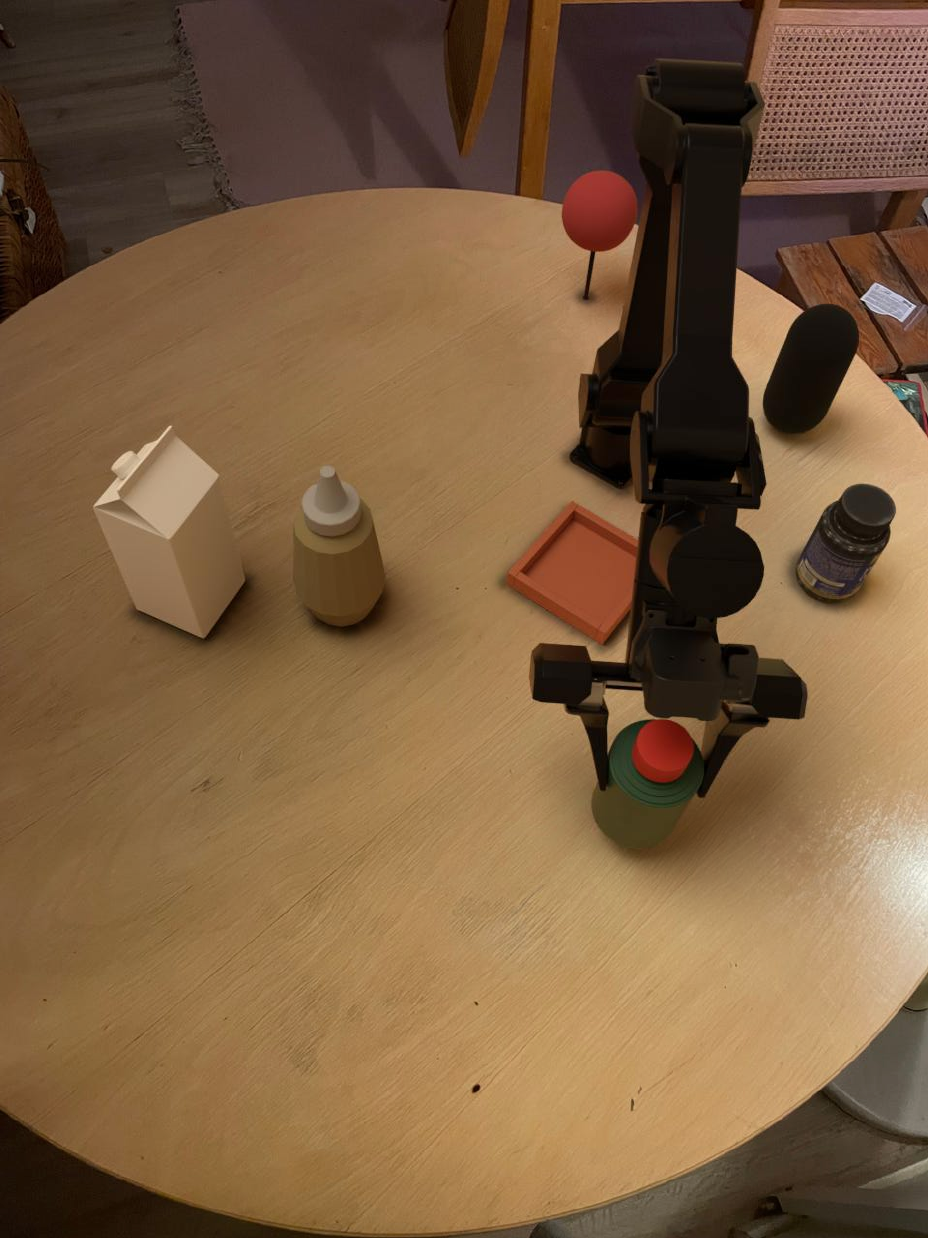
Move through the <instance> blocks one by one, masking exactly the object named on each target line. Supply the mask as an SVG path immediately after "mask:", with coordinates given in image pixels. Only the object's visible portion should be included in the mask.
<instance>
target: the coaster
mask: <svg viewBox="0 0 928 1238" xmlns="http://www.w3.org/2000/svg"><path fill="white" fill-rule="evenodd" d="M637 546H638V539H637V538H635V537H634V536H632V535H631V534H629V533H627V532H626V531H624V530H623V529H620V528H619V527H617V526H615V525H613V524H612V523H611V522H608V521H607V520H606V519H603V518H602V517H600V516H598V515H597V514H595V513H594V512H592V511H590V510H588V509H586V508H585V507H583V506H582V505H579V504H578V503H577V502H574V501H573V500H572V501H570V502H569V503H568V504H567V506H566V507H565V508H564V509H563V510H562V511H561V512H560V513H559V515H557V517H556V518H555V519H554V520H553V521H552V523H551V524H550V525H549V526H548V527H547V528H546V529H545V530H544V531H543V533H542V534H541V535H540V536H539V537H538V538H537V539H536V540H535V542H534V543H533V544H532V545H531V546H530V547H529V548H528V549H527V551H526V552H525V553H524V554H522V556H521V557H520V558H519V559H518V560H517V562H515V564H514V565H513V566H512V567H511V568H510V569H509V571H508V572H507V577H506V585H507V586H509V587H510V588H512V589H514V590H515V591H517V592H518V593H520V594H522V595H523V596H524V597H526V598H528V599H529V600H531V601H533V603H536V604H537V605H538V606H540V607H542V608H544V609H545V610H547V611H548V612H550V613H551V614H552V615H555V616H556V617H558V618H560V619H561V620H563V621H564V622H566V623H567V624H569V625H571V626H572V627H574V628H575V629H577V630H578V631H580V632H581V633H583V634H585V635H586V636H588V637H589V638H591V639H592V640H594V641H595V642H597V643H599V644H601V645H604V643H605V642H606V641H607V639H608V638H609V637H610V636H611V634H612V633H614V631H615V629H616V628H617V627H618V626H619V624H620V623H621V622H622V621H623V619H624V618H625V617H626V616H627V615H628V613H630V611H631V601H632V592H633V583H634V574H635V564H636V555H637Z"/></svg>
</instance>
